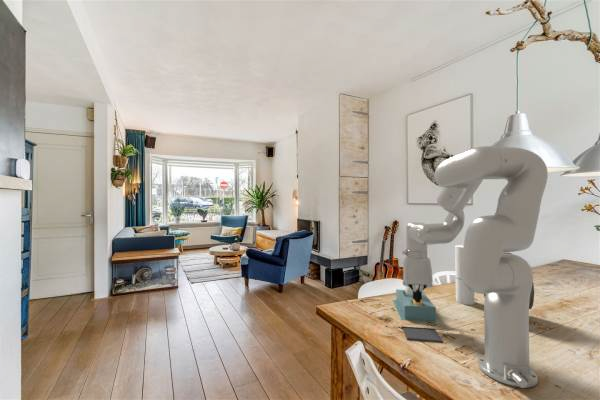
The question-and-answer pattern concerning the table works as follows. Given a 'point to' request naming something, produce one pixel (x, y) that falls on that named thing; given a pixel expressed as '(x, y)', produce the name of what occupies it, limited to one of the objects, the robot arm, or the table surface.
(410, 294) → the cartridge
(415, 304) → the orange egg shape
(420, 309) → the teal hollow block
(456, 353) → the table surface
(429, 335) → the mat
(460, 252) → the cylindrical container
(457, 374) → the table surface
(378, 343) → the table surface
